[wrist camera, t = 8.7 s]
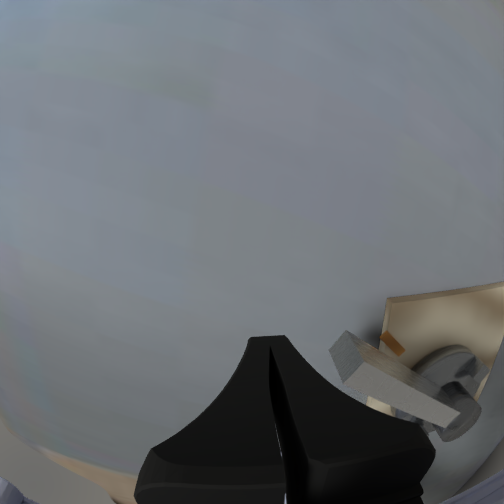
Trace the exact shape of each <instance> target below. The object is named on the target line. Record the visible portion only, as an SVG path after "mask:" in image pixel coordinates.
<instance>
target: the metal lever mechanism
mask: <svg viewBox="0 0 504 504" xmlns="http://www.w3.org/2000/svg"><path fill="white" fill-rule="evenodd" d="M329 352H330V355H331V357H332V359H333V362H334V364H335V366H336V369H337V371H338V373H339V376H340V378H341V380H342V383H343V384H344V385H346V386H348V387H350V388H353V389H355V390H357V391H359V392H361V393H363V394H365V395H368V396H370V397H372V398H374V399H376V400H379V401H381V402H383V403H385V404H388V405H390V406H391V413H392V415H393V417H396V418H400V419H403V420H407V421H410V422H414V423H417V424H419V425H420V426H421V428H422V429H423V431H424V432H425V433H426V435H427V436H429V434H428V433H430V432H432V431H435V430H436V431H437V433H438V435H439V436H440V438H441V439H442V441H444V442H449V441H452V440H455V439H457V438H459V437H460V436H462V435H463V434H464V433H466V432H467V431H468V430H469V429H470V428H471V427H472V426H473V425H474V424H475V422H476V421H477V420H478V418H479V416H480V414H481V407H480V406H479V404H478V403H477V402H476V401H475V400H474V398H473V397H474V396H475V394H476V392H477V390H478V388H479V386H480V384H481V381H482V380H483V379H484V378H485V377H486V375H487V374H488V373H489V372H490V369H489V368H488V367H487V366H486V365H485V364H484V363H483V362H482V361H481V360H480V359H479V358H478V357H477V356H476V355H475V354H473V353H472V352H471V351H470V350H469V349H468V348H467V347H465V346H463V345H449V346H446V347H443V348H440V349H438V350H436V351H434V352H433V353H431V354H429V355H428V356H426V357H425V358H424V359H422V360H421V361H420V362H418V363H417V364H416V365H415V366H414V367H413V368H412V369H409V368H408V367H406V366H404V365H403V364H401V363H399V362H398V361H396V360H394V359H393V358H391V357H389V356H388V355H386V354H385V353H383V352H381V351H380V350H378V349H376V348H375V347H373V346H371V345H370V344H368V343H367V342H365V341H363V340H362V339H360V338H358V337H357V336H355V335H354V334H352V333H350V332H349V331H347V330H346V331H345V332H344V333H343V334H342V335H341V336H340V337H339V339H338V340H337V341H336V342H335V343H334V344H333V345H332V347H331V348H330V349H329Z"/></svg>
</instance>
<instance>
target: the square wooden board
mask: <svg viewBox="0 0 504 504" xmlns="http://www.w3.org/2000/svg"><path fill="white" fill-rule="evenodd" d="M503 336H504V282H499V283H494V284H488V285H482V286H475V287H469V288H462V289H456V290H449V291H441V292H434V293H426V294H418V295H410V296H402V297H393V298H387V302H386V309H385V316H384V322H383V328H382V334H381V336H380V337H379V338H380V345H379V350H380V351H381V352H383V353H385V354H386V355H388V356H389V357H391V358H393V359H394V360H396V361H398V362H399V363H401V364H403V365H404V366H406V367H408V368H409V369H412V368H413V367H414V366H415V365H416V364H417V363H418V362H420V361H421V360H422V359H424V358H425V357H426V356H428V355H429V354H431V353H433V352H434V351H436V350H438V349H440V348H443V347H446V346H449V345H463V346H465V347H467V348H468V349H469V350H470V351H471V352H472V353H473V354H475V355H476V356H477V357H478V358H479V359H480V360H481V361H482V362H483V363H484V364H485V365H486V366H487V367H488V368H489V369H490V371H491V369H492V366H493V364H494V361H495V358H496V356H497V353H498V350H499V348H500V345H501V342H502V339H503ZM489 374H490V372H489V373H488V374H487V375H486V377H485V378H484V379H483V380H482V381H481V384H480V386H479V388H478V390H477V392H476V394H475V396H474V397H473V398H474V400H475V401H476V402H477V400H478V398H479V396H480V394H481V392H482V390H483V387H484V385H485V383H486V381H487V378H488V376H489ZM366 406H369V407H371V408H373V409H375V410H378V411H380V412H382V413H385V414H387V415H390V416H393V415H392V413H391V406H390V405H388V404H385V403H383V402H381V401H379V400H376V399H374V398H372V397H370V396H368V399H367V403H366Z"/></svg>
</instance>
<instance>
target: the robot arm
mask: <svg viewBox="0 0 504 504" xmlns="http://www.w3.org/2000/svg"><path fill="white" fill-rule="evenodd" d="M275 425H276V427H275ZM276 430H277V432H276ZM277 434H278V437H277ZM278 439H279V442H278ZM279 443H280V447H279ZM280 448H281V451H280ZM435 453H436V450H435V448H434V447H433V445H432V443H431V441H430V440H429V438H428V436H427V435H426V433H425V432H424V431H423V429H422V428H421V426H420V425H419V424H417V423H414V422H410V421H407V420H403V419H400V418H396V417H393V416H390V415H387V414H385V413H382V412H380V411H378V410H375V409H373V408H371V407H369V406H366V405H364V404H362V403H361V402H359V401H357V400H355V399H353V398H352V397H350V396H348V395H347V394H345V393H343V392H342V391H340V390H339V389H338V388H336V387H335V386H333V385H332V384H331V383H329V382H328V381H327V380H326V379H325V378H323V377H322V376H321V375H320V374H319V373H318V372H317V371H316V370H315V369H314V368H313V367H312V366H311V365H310V364H309V363H308V362H307V361H306V360H305V359H304V358H303V357H302V356H301V355H300V353H299V352H298V351H297V350H296V349H295V347H294V346H293V345H292V343H291V342H290V341H289V339H288V338H287V337H286V336H285V335H279V336H262V337H251V338H249V339H248V343H247V347H246V350H245V352H244V355H243V357H242V359H241V361H240V363H239V365H238V367H237V369H236V370H235V372H234V374H233V375H232V377H231V378H230V380H229V382H228V383H227V385H226V386H225V387H224V389H223V390H222V391H221V393H220V394H219V395H218V396H217V397H216V399H215V400H214V401H213V402H212V403H211V404H210V405H209V406H208V407H207V408H206V409H205V410H204V411H203V412H202V413H201V414H200V415H199V416H198V417H197V418H196V419H195V420H193V421H192V422H191V423H190V424H188V425H187V426H186V427H185V428H183V429H182V430H181V431H179V432H178V433H177V434H175V435H174V436H172V437H170V438H169V439H167V440H165V441H164V442H162V443H160V444H159V445H157V446H155V447H153V448H151V450H150V451H149V453H148V455H147V457H146V459H145V461H144V463H143V465H142V467H141V470H140V473H139V476H138V480H137V484H136V488H135V492H134V498H135V500H136V502H137V503H138V504H424V503H423V501H422V499H421V497H420V496H421V495H422V494H423V488H422V486H421V484H420V481H421V480H422V478H423V477H424V476H425V474H426V473H427V471H428V470H429V468H430V466H431V465H432V463H433V460H434V458H435ZM0 504H39V503H37V502H35V501H33V500H30V499H28V498H26V497H24V496H23V494H22V493H21V492H20V491H19V490H18V489H17V488H16V487H15V486H14V485H13V484H11V483H10V482H9V481H7V480H6V479H4V478H2V477H0ZM439 504H504V469H503V470H501V471H500V472H498V473H496V474H495V475H493V476H492V477H490V478H488V479H487V480H485V481H483V482H481V483H479V484H478V485H476V486H474V487H472V488H470V489H468V490H466V491H464V492H462V493H460V494H458V495H456V496H454V497H452V498H450V499H448V500H446V501H443V502H441V503H439Z"/></svg>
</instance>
